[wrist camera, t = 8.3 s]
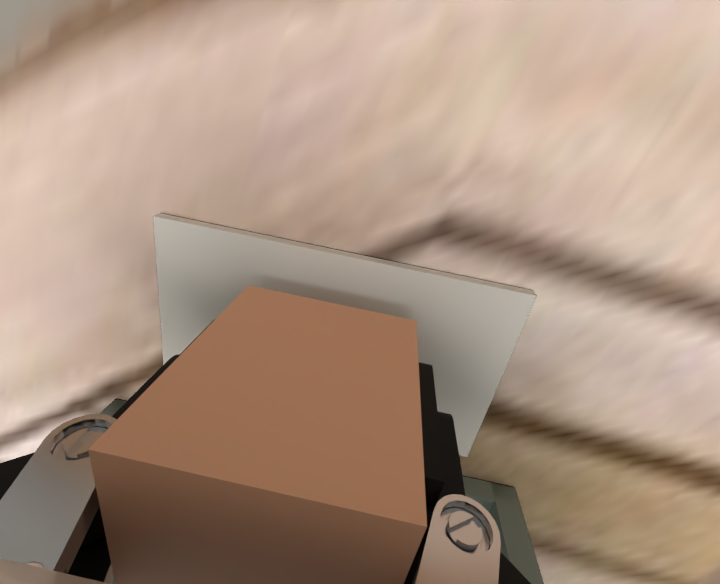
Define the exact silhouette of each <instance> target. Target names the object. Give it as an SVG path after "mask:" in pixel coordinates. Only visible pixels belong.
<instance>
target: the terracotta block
mask: <svg viewBox="0 0 720 584" xmlns="http://www.w3.org/2000/svg"><path fill="white" fill-rule="evenodd" d="M88 451H89V456H90V461H91V466H92V471H93V476H94V481H95V486H96V491H97V496H98V501H99V506H100V511H101V515H102V520H103V525H104V530H105V535H106V540H107V545H108V550H109V555H110V560H111V565H112V570H113V575H114V580H115V584H404V582H405V579H406V577H407V574H408V572H409V569H410V567H411V565H412V562H413V560H414V557H415V555H416V552H417V550H418V548H419V545H420V543H421V540H422V538H423V535H424V533H425V531H426V528H427V515H426V496H425V477H424V458H423V438H422V419H421V400H420V381H419V361H418V342H417V323H416V321H415V320H410V319H406V318H401V317H396V316H391V315H387V314H382V313H377V312H373V311H368V310H363V309H358V308H354V307H349V306H344V305H340V304H335V303H330V302H326V301H321V300H316V299H311V298H307V297H302V296H297V295H293V294H288V293H283V292H278V291H274V290H269V289H264V288H260V287H255V286H250V285H248V286H247V287H246V288H245V289H244V290H243V291H242V292H241V293H240V294H239V295H238V297H237V298H236V299H235V300H234V301H233V302H232V303H231V304H230V305H229V306H228V307H227V308H226V309H225V310H224V311H223V312H222V313H221V314H220V315H219V316H218V317H217V318H216V319H215V320H214V321H213V322H212V323H211V324H210V325H209V326H208V327H207V328H206V329H205V330H204V331H203V332H202V333H201V334H200V335H199V336H198V337H197V338H196V339H195V340H194V342H193V343H192V344H191V345H190V346H189V347H188V348H187V349H186V350H185V351H184V352H183V353H182V354H181V355H180V356H179V357H178V358H177V359H176V360H175V361H174V362H173V363H172V364H171V365H170V366H169V367H168V368H167V369H166V370H165V371H164V372H163V373H162V374H161V375H160V376H159V377H158V378H157V379H156V380H155V381H154V382H153V383H152V384H151V385H150V386H149V388H148V389H147V390H146V391H145V392H144V393H143V394H142V395H141V396H140V397H139V398H138V399H137V400H136V401H135V402H134V403H133V404H132V405H131V406H130V407H129V408H128V409H127V410H126V411H125V412H124V413H123V414H122V415H121V416H120V417H119V418H118V419H117V420H116V421H115V422H114V423H113V424H112V425H111V426H110V427H109V428H108V429H107V430H106V431H105V432H104V434H103V435H102V436H101V437H100V438H99V439H98V440H97V441H96V442H95V443H94V444H93V445H92V446H91V447H90V448H89V449H88Z"/></svg>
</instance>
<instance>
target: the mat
mask: <svg viewBox="0 0 720 584" xmlns="http://www.w3.org/2000/svg"><path fill="white" fill-rule="evenodd" d="M153 223H154V238H155V252H156V266H157V280H158V295H159V309H160V323H161V337H162V352H163V365H164V364H165V363H166V362H167V361H168V360H169V359H170V358H171V357H173V356H174V355H177V354H178V355H180V354H181V353H182V352H183V351H184V350H185V349H186V348H187V347H188V345H189V344H190V343H191V342H192V341H193V340H194V339H195V338H196V337H197V336H198V335H199V334H200V333H201V332H202V331H203V330H204V329H205V328H206V327H207V326H208V325H209V324H210V323H211V322H212V321H213V320H214V319H216V318H217V317H218V316H219V315H220V314H221V313H222V312H223V311H224V310H225V309H226V308H227V307H228V306H229V305H230V304H231V303H232V302H233V301H234V300H235V299H236V298H237V297H238V295H239V294H240V293H241V292H242V291H243V290H244V289H245V288H246V287H247V286H248V285H250V286H255V287H260V288H264V289H269V290H274V291H278V292H283V293H288V294H293V295H297V296H302V297H307V298H311V299H316V300H321V301H326V302H330V303H335V304H340V305H344V306H349V307H354V308H358V309H363V310H368V311H373V312H377V313H382V314H387V315H391V316H396V317H401V318H406V319H410V320H415V321H416V323H417V342H418V361H419V362H420V363H425V364H430V365H432V367H433V375H434V384H435V393H436V403H437V411H438V412H443V413H448V414H451V415H452V417H453V420H454V427H455V433H456V439H457V446H458V452H459V455H460V456H465V457H467V456H468V454H469V452H470V449H471V447H472V445H473V442H474V440H475V438H476V436H477V433H478V431H479V429H480V426H481V424H482V422H483V419H484V417H485V415H486V412H487V410H488V408H489V406H490V403H491V401H492V399H493V396H494V394H495V392H496V389H497V387H498V385H499V382H500V380H501V378H502V376H503V373H504V371H505V369H506V366H507V364H508V362H509V359H510V357H511V355H512V352H513V350H514V348H515V346H516V343H517V341H518V339H519V336H520V334H521V332H522V329H523V327H524V325H525V322H526V320H527V318H528V315H529V313H530V311H531V309H532V306H533V304H534V302H535V299H536V297H537V295H536V294H535V293H534V291H533V290H528V289H523V288H518V287H514V286H509V285H504V284H499V283H494V282H489V281H485V280H480V279H475V278H470V277H465V276H461V275H456V274H451V273H446V272H441V271H436V270H432V269H427V268H422V267H417V266H412V265H408V264H403V263H398V262H393V261H388V260H383V259H379V258H374V257H369V256H364V255H359V254H355V253H350V252H345V251H340V250H335V249H330V248H326V247H321V246H316V245H311V244H306V243H302V242H297V241H292V240H287V239H282V238H277V237H273V236H268V235H263V234H258V233H253V232H248V231H244V230H239V229H234V228H229V227H224V226H220V225H215V224H210V223H205V222H200V221H195V220H191V219H186V218H181V217H176V216H171V215H167V214H162V213H160V214H158V215H155V216H153Z"/></svg>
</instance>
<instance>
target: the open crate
mask: <svg viewBox="0 0 720 584" xmlns="http://www.w3.org/2000/svg"><path fill="white" fill-rule="evenodd" d="M126 402H127V401H123V400H119V399H115V400H114V401H113V402H112V403H111V404H110V405H109V406H107V407H106V408H105V409H104V410H103V411H102V412H101V413H100V414H102V415H109V416H111V417H112V416H113V415H114V414H115V413H116V412H117V411H118V410H119V409H120V408H121V407H122V406H123V405H124V404H125V403H126ZM462 477H463V483H464V489H465V496H466V497H469V498H472V499H473V500H475V501H476V502H478V503H480V504H481V505H482V506H483V507H484V508H485V509H486V510H487V511H488V512H489V513H490V514H491V516H492V517H493V519H494V520H495V522H496V524H497V527H498V529H499V532H500V540H501V548H500V552H501V553H502V554H503V555H504V556H505V557H506V558H507V559H508V560H509V561H510V562H511V563H512V564H513V565H514V566H515V567H516V568H517V569H518V570H519V571H520V573H521V574H522V575H523V576H524V577H525V578H526V579H527V580H528V581H529V582H530V583H531V584H544V583H543V580H542V576H541V573H540V569H539V566H538V563H537V559H536V556H535V553H534V549H533V546H532V543H531V539H530V536H529V533H528V529H527V526H526V523H525V519H524V516H523V513H522V509H521V506H520V503H519V499H518V496H517V493H516V489H515V488H514V487H509V486H505V485H500V484H496V483H491V482H487V481H482V480H478V479H473V478H469V477H464V476H462ZM112 584H115V580H114V579H113V582H112Z"/></svg>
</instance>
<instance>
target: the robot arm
mask: <svg viewBox="0 0 720 584" xmlns="http://www.w3.org/2000/svg"><path fill="white" fill-rule="evenodd" d="M214 320H215V319H214ZM214 320H213V321H214ZM213 321H212V322H213ZM212 322H211V323H212ZM211 323H210V324H211ZM210 324H209V325H210ZM209 325H208V326H209ZM208 326H207V327H208ZM207 327H206V328H207ZM206 328H205V329H206ZM205 329H204V330H205ZM204 330H203V331H204ZM203 331H202V332H203ZM202 332H201V333H202ZM201 333H200V334H201ZM200 334H199V335H200ZM199 335H198V336H199ZM198 336H197V337H198ZM197 337H196V338H197ZM196 338H195V339H196ZM195 339H194V340H195ZM194 340H193V341H192V342H191V343H190V344H189V345H188V347H189V346H190V345H191V344H192V343H193V342H194ZM188 347H187V348H188ZM187 348H186V349H187ZM186 349H185V350H186ZM185 350H184V351H185ZM184 351H183V352H184ZM183 352H182V353H183ZM182 353H181V354H182ZM181 354H180V355H181ZM180 355H178V354H177V355H174V356H173V357H171V358H170V359H169V360H168V361H167V362H166V363H165V364H164V365H163V366H162V367H161V368H160V369H159V370H158V371H157V372H156V373H155V374H154V375H153V376H152V377H151V378H150V379H149V380H148V381H147V382H146V383H145V384H144V385H143V386H142V387H141V388H140V389H139V390H138V391H137V392H136V393H135V394H134V395H133V396H132V397H131V398H130V399H129V400H128V401H127V402H126V403H125V404H124V405H123V406H122V407H121V408H120V409H119V410H118V411H117V412H116V413H115V414H114V415H113V416H112V417H111V416H109V415H102V414H93V415H85V416H81V417H78V418H74V419H72V420H70V421H68V422H65V423H63V424H62V425H60V426H59V427H57V428H56V429H54V430H53V431H52V432H51V433H50V434H49V435H48V436H47V437H46V438H45V439H44V441H43V442H42V443H41V445H40V446H39V447H38V449H37V450H36V452H35V453H32V454H29V455H25V456H22V457H19V458H16V459H13V460H10V461H6V462H3V463H0V584H112V582H113V579H114V575H113V570H112V565H111V560H110V555H109V550H108V545H107V540H106V535H105V530H104V525H103V520H102V515H101V511H100V506H99V501H98V496H97V491H96V486H95V481H94V476H93V471H92V466H91V461H90V456H89V451H88V449H89V448H90V447H91V446H92V445H93V444H94V443H95V442H96V441H97V440H98V439H99V438H100V437H101V436H102V435H103V434H104V432H105V431H106V430H107V429H108V428H109V427H110V426H111V425H112V424H113V423H114V422H115V421H116V420H117V419H118V418H119V417H120V416H121V415H122V414H123V413H124V412H125V411H126V410H127V409H128V408H129V407H130V406H131V405H132V404H133V403H134V402H135V401H136V400H137V399H138V398H139V397H140V396H141V395H142V394H143V393H144V392H145V391H146V390H147V389H148V388H149V386H150V385H151V384H152V383H153V382H154V381H155V380H156V379H157V378H158V377H159V376H160V375H161V374H162V373H163V372H164V371H165V370H166V369H167V368H168V367H169V366H170V365H171V364H172V363H173V362H174V361H175V360H176V359H177V358H178V357H179V356H180ZM419 381H420V400H421V419H422V438H423V458H424V477H425V496H426V515H427V528H426V531H425V533H424V535H423V538H422V540H421V543H420V545H419V548H418V550H417V552H416V555H415V557H414V560H413V562H412V565H411V567H410V569H409V572H408V574H407V577H406V579H405V582H404V584H531V583H530V582H529V581H528V580H527V579H526V578H525V577H524V576H523V575H522V574H521V573H520V571H519V570H518V569H517V568H516V567H515V566H514V565H513V564H512V563H511V562H510V561H509V560H508V559H507V558H506V557H505V556H504V555H503V554H502V553H501V552H500V548H501V540H500V532H499V529H498V527H497V524H496V522H495V520H494V519H493V517H492V516H491V514H490V513H489V512H488V511H487V510H486V509H485V508H484V507H483V506H482V505H481V504H480V503H478V502H476V501H475V500H473V499H472V498H469V497H466V496H465V489H464V483H463V477H462V471H461V464H460V458H459V452H458V446H457V439H456V433H455V427H454V420H453V417H452V415H451V414H448V413H443V412H438V411H437V403H436V393H435V384H434V375H433V367H432V365H430V364H425V363H420V362H419Z"/></svg>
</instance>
